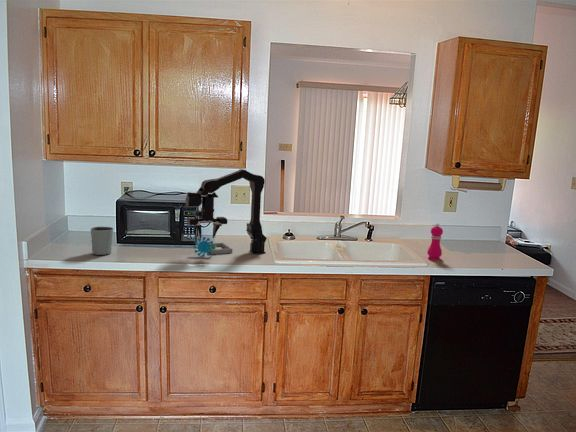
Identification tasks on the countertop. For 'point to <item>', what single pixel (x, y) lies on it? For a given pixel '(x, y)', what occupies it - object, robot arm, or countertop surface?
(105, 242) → the grey cup
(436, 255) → the pepper mill
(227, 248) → the tray
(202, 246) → the gear
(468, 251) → the countertop surface
